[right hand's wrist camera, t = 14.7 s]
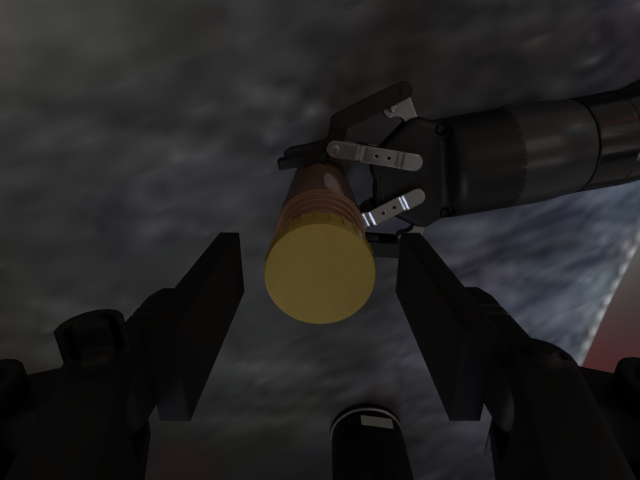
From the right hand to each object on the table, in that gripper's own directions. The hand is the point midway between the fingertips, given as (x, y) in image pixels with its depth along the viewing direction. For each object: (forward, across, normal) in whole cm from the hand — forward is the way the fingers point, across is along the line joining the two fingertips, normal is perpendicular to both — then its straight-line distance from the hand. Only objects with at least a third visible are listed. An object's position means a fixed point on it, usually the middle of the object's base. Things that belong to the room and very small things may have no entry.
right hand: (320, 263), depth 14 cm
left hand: (+14, -3, 0) cm, 14 cm away
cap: (-1, 0, 0) cm, 1 cm away
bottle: (+21, 0, 0) cm, 21 cm away
